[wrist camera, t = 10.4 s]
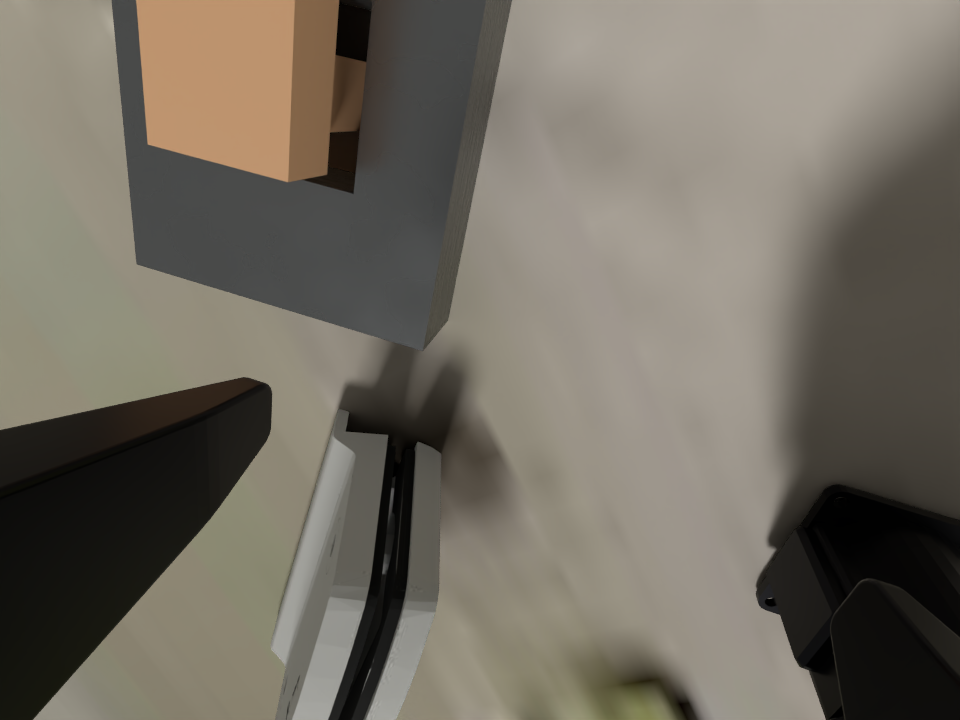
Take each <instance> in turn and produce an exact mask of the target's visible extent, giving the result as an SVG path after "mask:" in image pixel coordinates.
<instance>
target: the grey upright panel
mask: <svg viewBox="0 0 960 720" xmlns="http://www.w3.org/2000/svg"><path fill="white" fill-rule="evenodd" d="M348 416H349V412H348V411H344V410H341V409H338V412H337V415H336V419H335V422H334V426H333V429H332V433H331V436H330V439H329V443H328V446H327V450H326V453H325V456H324V460H323V463H322V467H321V470H320V473H319V477H318V480H317V484H316V487H315V491H314V494H313V497H312V501H311V504H310V508H309V511H308V514H307V518H306V521H305V525H304V528H303V532H302V535H301V538H300V542H299V545H298V549H297V552H296V555H295V559H294V562H293V566H292V569H291V573H290V576H289V579H288V583H287V586H286V590H285V593H284V596H283V600H282V603H281V607H280V610H279V614H278V617H277V621H276V625H275V629H274V633H273V637H272V641H271V649H272V650H273V652H274V653H275V654H276V655H277V656H278V657H279V658H280V660H281V661H282V662H283V663H284V665H285V668H286V669H285V674H284V679H283V684H282V689H281V693H280V698H279V703H278V708H277V713H276V718H275V720H396V718H397V716H398V714H399V711H400V709H401V707H402V705H403V702H404V700H405V698H406V695H407V693H408V690H409V687H410V685H411V682H412V680H413V677H414V674H415V672H416V669H417V666H418V663H419V660H420V657H421V654H422V651H423V648H424V645H425V642H426V639H427V636H428V633H429V630H430V627H431V624H432V621H433V618H434V615H435V611H436V606H437V601H438V594H439V564H440V504H441V453H439V452H438V451H436V450H435V449H434V448H432V447H430V446H427V445H425V444H423V443H420V442H417V444H416V446H415V449H414V450H410V449H406V450H405V453H404V456H403V458H402V461H401V463H400V466H399V468H398V471H397V474H396V476H395V477H393V468H394V459H395V449H396V447H395V446H391V445H387V441H388V435H382V434H369V433H356V432H346V427H347V422H348Z"/></svg>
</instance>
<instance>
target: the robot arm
mask: <svg viewBox="0 0 960 720" xmlns="http://www.w3.org/2000/svg"><path fill="white" fill-rule="evenodd" d="M271 413H272V390H271V388H270V386H269V385H268V384H266V383H263V382H260V381H257V380H254V379H251V378H246V377H243V378H238V379H233V380H229V381H224V382H220V383H215V384H210V385H206V386H201V387H197V388H192V389H187V390H183V391H178V392H173V393H169V394H164V395H160V396H155V397H150V398H146V399H141V400H137V401H132V402H127V403H123V404H118V405H114V406H109V407H104V408H100V409H95V410H91V411H86V412H81V413H77V414H72V415H67V416H63V417H58V418H54V419H49V420H44V421H40V422H35V423H31V424H26V425H21V426H17V427H12V428H8V429H3V430H0V720H33V719H34V718H35V717H36V716H37V714H38V713H39V712H40V711H41V710H42V709H43V708H44V706H45V705H46V704H47V703H48V702H49V701H50V700H51V699H52V697H53V696H54V695H55V694H56V693H57V692H58V691H59V690H60V688H61V687H62V686H63V685H64V684H65V683H66V682H67V681H68V679H69V678H70V677H71V676H72V675H73V674H74V673H75V671H76V670H77V669H78V668H79V667H80V666H81V665H82V664H83V662H84V661H85V660H86V659H87V658H88V657H89V656H90V655H91V653H92V652H93V651H94V650H95V649H96V648H97V647H98V646H99V644H100V643H101V642H102V641H103V640H104V639H105V638H106V636H107V635H108V634H109V633H110V632H111V631H112V630H113V629H114V627H115V626H116V625H117V624H118V623H119V622H120V621H121V620H122V618H123V617H124V616H125V615H126V614H127V613H128V612H129V611H130V609H131V608H132V607H133V606H134V605H135V604H136V603H137V601H138V600H139V599H140V598H141V597H142V596H143V595H144V594H145V592H146V591H147V590H148V589H149V588H150V587H151V586H152V585H153V583H154V582H155V581H156V580H157V579H158V578H159V577H160V576H161V574H162V573H163V572H164V571H165V570H166V569H167V568H168V567H169V565H170V564H171V563H172V562H173V561H174V560H175V559H176V557H177V556H178V555H179V554H180V553H181V552H182V551H183V550H184V548H185V547H186V546H187V545H188V544H189V543H190V542H191V541H192V539H193V538H194V537H195V536H196V535H197V534H198V533H199V532H200V530H201V529H202V528H203V527H204V526H205V524H206V523H207V522H208V521H209V520H210V519H211V517H212V516H213V515H214V513H215V512H216V511H217V509H218V508H219V507H220V505H221V504H222V503H223V501H224V500H225V498H226V497H227V496H228V494H229V493H230V491H231V490H232V489H233V487H234V486H235V484H236V483H237V482H238V480H239V479H240V477H241V476H242V475H243V473H244V472H245V470H246V469H247V468H248V466H249V465H250V463H251V462H252V461H253V459H254V458H255V456H256V455H257V454H258V452H259V451H260V449H261V448H262V447H263V445H264V444H265V442H266V441H267V439H268V436H269V434H270V430H271ZM839 497H844V499H843V500H841V501H834V500H835V499H836V498H839ZM756 597H757V600H758V603H759V606H760V607H761V608H763V609H765V610H767V611H770V612H773V613H776V614H779V615H780V616H781V619H782V622H783V625H784V628H785V631H786V634H787V637H788V640H789V643H790V646H791V649H792V652H793V655H794V658H795V660H796V661H797V663H798V665H799V667H801V668H804V669H807V670H809V672H810V675H811V678H812V681H813V684H814V687H815V690H816V692H817V695H818V698H819V701H820V704H821V707H822V709H823V712H824V715H825V718H826V720H960V521H959V520H955V519H952V518H949V517H946V516H942V515H939V514H936V513H932V512H929V511H926V510H923V509H919V508H916V507H913V506H909V505H906V504H903V503H900V502H896V501H893V500H890V499H886V498H883V497H880V496H877V495H873V494H870V493H867V492H864V491H860V490H857V489H854V488H850V487H847V486H844V485H833V486H830V487H828V488H826V489H825V490H824V491H823V493H822V494H821V496H820V497H819V499H818V500H817V502H816V503H815V505H814V506H813V507H812V509H811V510H810V512H809V513H808V515H807V516H806V518H805V519H804V521H803V522H802V524H801V525H800V527H798V528H797V529H795V530H794V531H793V533H792V534H791V536H790V537H789V539H788V540H787V542H786V543H785V545H784V546H783V548H782V549H781V551H780V552H779V554H778V555H777V557H776V558H775V560H774V561H773V563H772V564H771V566H770V567H769V569H768V570H767V576H766V577H765V579H764V580H763V582H762V583H761V585H760V586H759V588H758V589H757V591H756ZM767 598H772V599H767Z"/></svg>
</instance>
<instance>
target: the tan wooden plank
mask: <svg viewBox="0 0 960 720" xmlns="http://www.w3.org/2000/svg"><path fill="white" fill-rule="evenodd" d="M136 4H137V16H138V29H139V42H140V54H141V67H142V79H143V92H144V104H145V117H146V129H147V142H148V145H151V146H155V147H159V148H162V149H166V150H170V151H174V152H177V153H181V154H185V155H189V156H192V157H196V158H200V159H203V160H207V161H211V162H215V163H218V164H222V165H226V166H229V167H233V168H237V169H241V170H244V171H248V172H252V173H255V174H259V175H263V176H267V177H270V178H274V179H278V180H282V181H285V182H292V181H297V180H302V179H308V178H313V177H318V176H323V175H327V168H328V153H329V139H330V132H348V131H360V124H361V113H362V103H363V93H364V82H365V72H366V62H364V61H360V60H355V59H351V58H347V57H343V56H338V55H335V53H336V38H337V24H338V9H339V0H136Z"/></svg>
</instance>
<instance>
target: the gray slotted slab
mask: <svg viewBox="0 0 960 720" xmlns="http://www.w3.org/2000/svg"><path fill="white" fill-rule="evenodd" d="M511 2H512V0H339V3H340V4H345V5H349V6H353V7H358V8H362V9H366V10H371V21H370V31H369V41H368V52H367V62H366V72H365V82H364V93H363V103H362V113H361V124H360V134H359V144H358V154H357V165H356V174H355V173H351V172H347V171H343V170H340V169H336V168H332V167H328V168H327V175H323V176H318V177H313V178H308V179H302V180H297V181H292V182H285V181H282V180H278V179H274V178H270V177H267V176H263V175H259V174H255V173H252V172H248V171H244V170H241V169H237V168H233V167H229V166H226V165H222V164H218V163H215V162H211V161H207V160H203V159H200V158H196V157H192V156H189V155H185V154H181V153H177V152H174V151H170V150H166V149H162V148H159V147H155V146H151V145H148V142H147V129H146V117H145V104H144V92H143V79H142V67H141V54H140V42H139V29H138V16H137V4H136V0H112V9H113V19H114V30H115V41H116V51H117V62H118V72H119V83H120V93H121V104H122V114H123V125H124V136H125V146H126V157H127V167H128V178H129V188H130V199H131V210H132V220H133V231H134V241H135V252H136V262H137V264H138V265H141V266H144V267H147V268H151V269H154V270H157V271H161V272H164V273H167V274H170V275H174V276H177V277H180V278H184V279H187V280H190V281H193V282H197V283H200V284H203V285H207V286H210V287H213V288H217V289H220V290H223V291H226V292H230V293H233V294H236V295H240V296H243V297H246V298H249V299H253V300H256V301H259V302H263V303H266V304H269V305H273V306H276V307H279V308H282V309H286V310H289V311H292V312H296V313H299V314H302V315H305V316H309V317H312V318H315V319H319V320H322V321H325V322H329V323H332V324H335V325H338V326H342V327H345V328H348V329H352V330H355V331H358V332H361V333H365V334H368V335H371V336H375V337H378V338H381V339H385V340H388V341H391V342H394V343H398V344H401V345H404V346H408V347H411V348H414V349H417V350H421V351H423V350H424V349H425V348H426V347H427V345H428V344H429V343H430V342H431V340H432V339H433V338H434V337H435V336H436V334H437V333H438V332H439V331H440V330H441V328H442V327H443V326H444V325H445V324H446V322H447V321H448V317H449V312H450V307H451V302H452V297H453V292H454V287H455V282H456V277H457V272H458V267H459V262H460V257H461V252H462V247H463V242H464V237H465V232H466V227H467V222H468V217H469V212H470V207H471V202H472V197H473V192H474V187H475V182H476V177H477V172H478V167H479V162H480V157H481V152H482V147H483V142H484V137H485V132H486V127H487V122H488V117H489V112H490V107H491V102H492V97H493V92H494V87H495V82H496V77H497V72H498V67H499V62H500V57H501V52H502V47H503V42H504V37H505V32H506V27H507V22H508V17H509V12H510V7H511Z"/></svg>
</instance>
